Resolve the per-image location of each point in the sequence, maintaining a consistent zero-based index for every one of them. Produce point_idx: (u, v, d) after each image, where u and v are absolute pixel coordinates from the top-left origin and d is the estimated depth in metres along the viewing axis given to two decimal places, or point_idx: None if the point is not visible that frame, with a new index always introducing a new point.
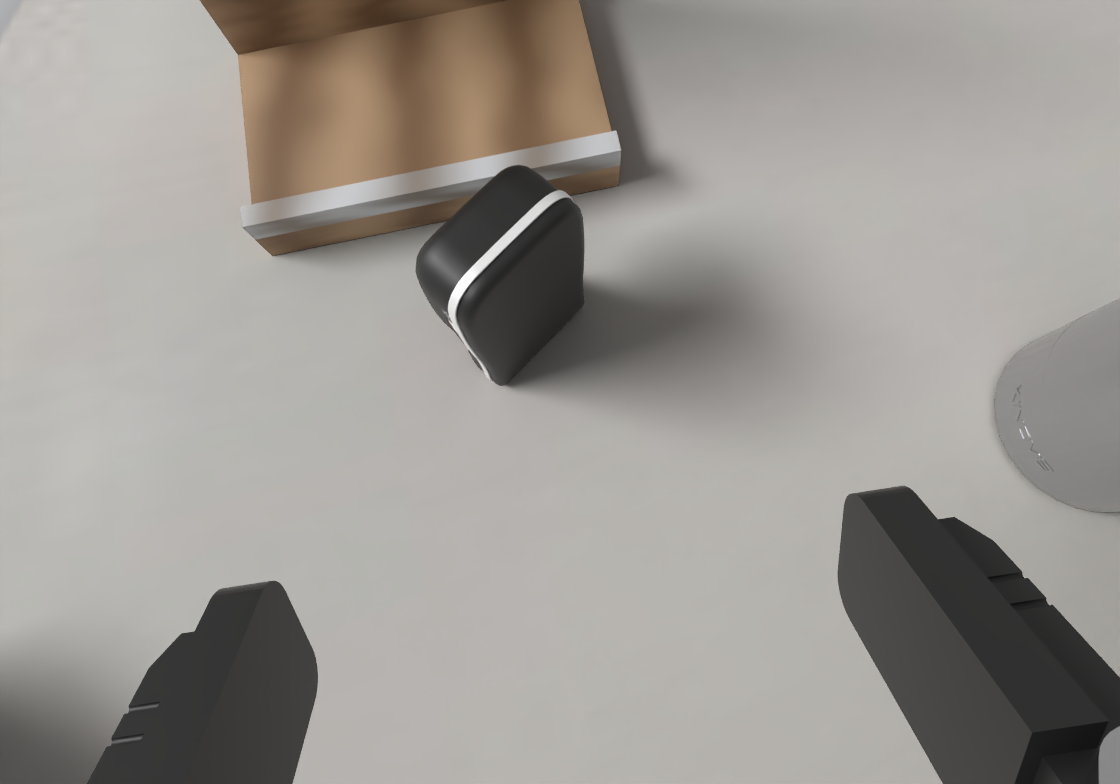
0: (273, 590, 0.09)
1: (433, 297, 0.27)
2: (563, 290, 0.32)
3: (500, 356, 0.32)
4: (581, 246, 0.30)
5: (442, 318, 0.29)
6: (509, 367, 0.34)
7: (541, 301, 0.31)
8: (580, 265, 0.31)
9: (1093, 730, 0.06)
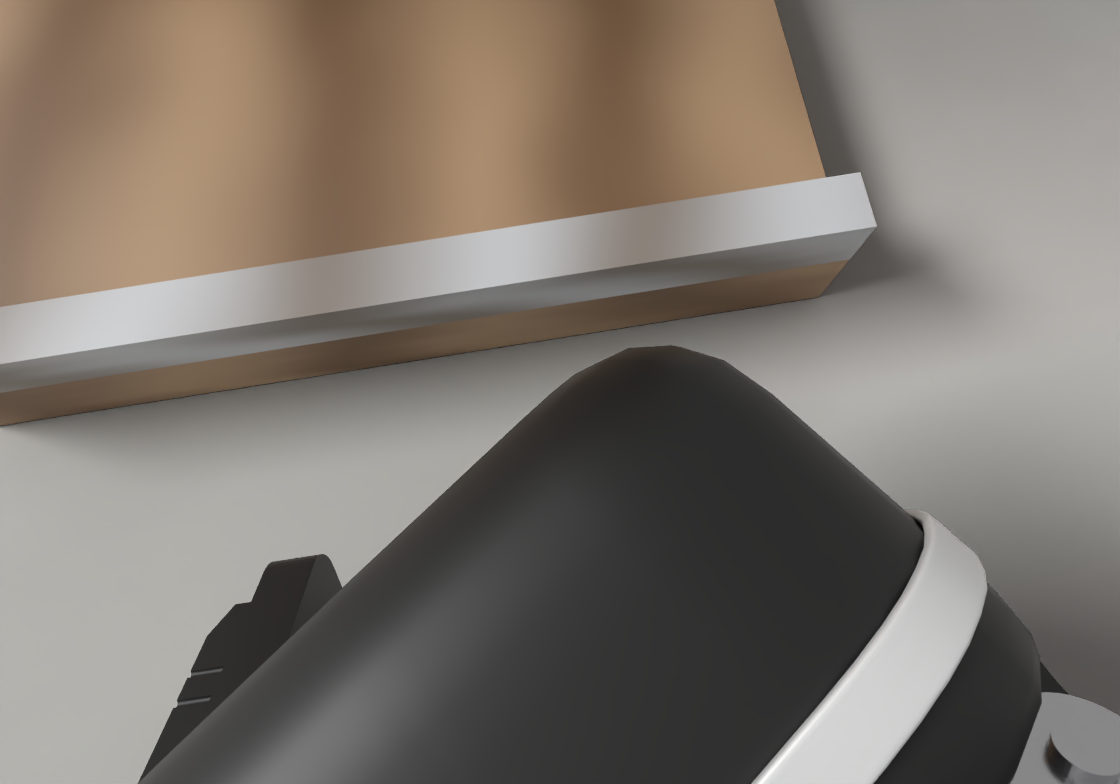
0: (323, 563, 0.09)
1: None
2: None
3: None
4: None
5: None
6: None
7: None
8: None
9: None
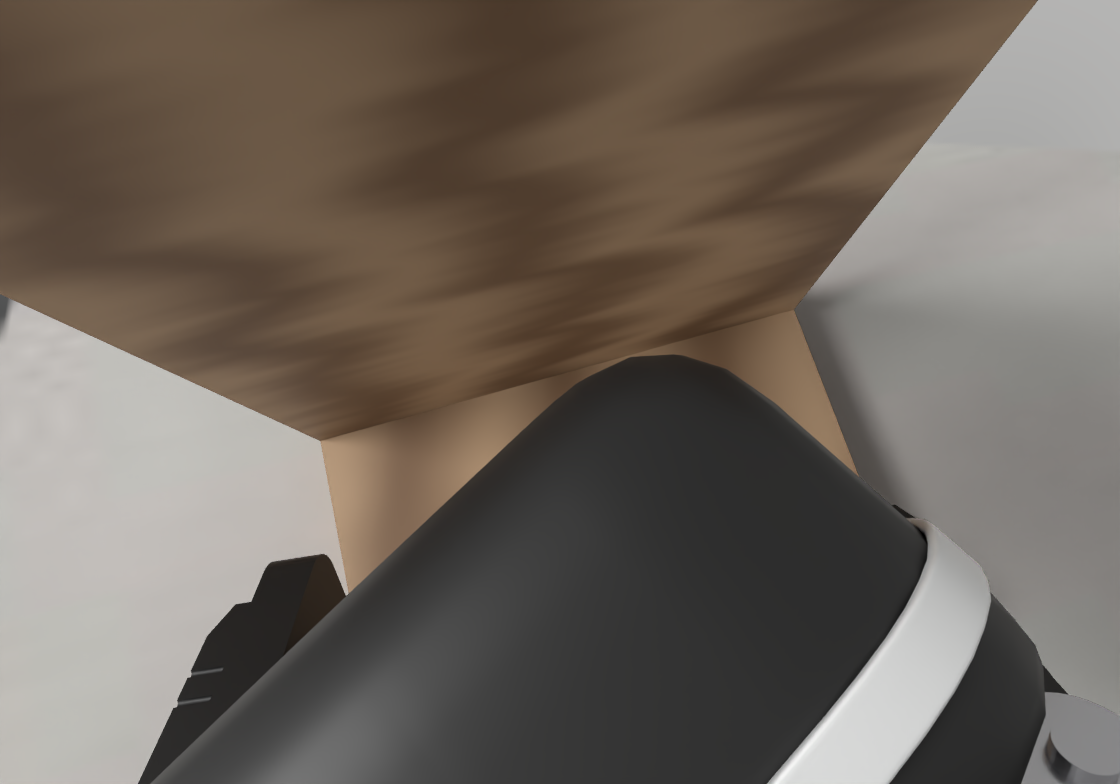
0: (323, 563, 0.09)
1: None
2: None
3: None
4: None
5: None
6: None
7: None
8: None
9: None
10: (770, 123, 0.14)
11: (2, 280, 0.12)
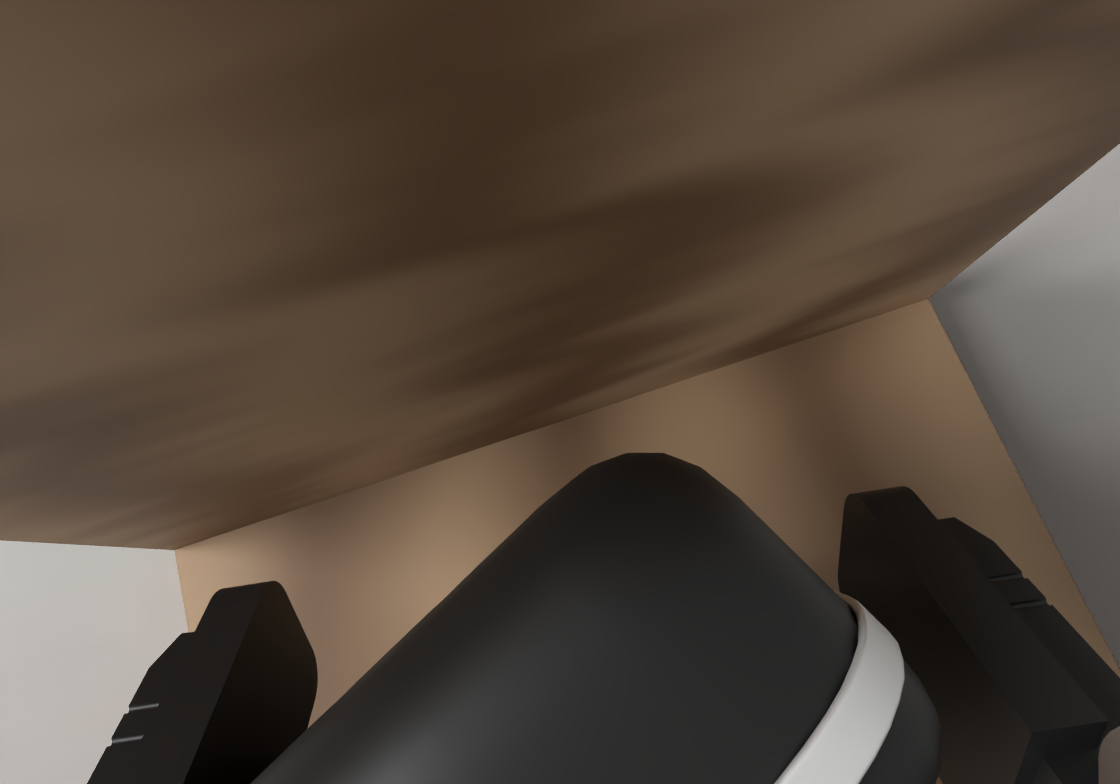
0: (273, 590, 0.09)
1: None
2: None
3: None
4: None
5: None
6: None
7: None
8: None
9: (1092, 730, 0.06)
10: None
11: None
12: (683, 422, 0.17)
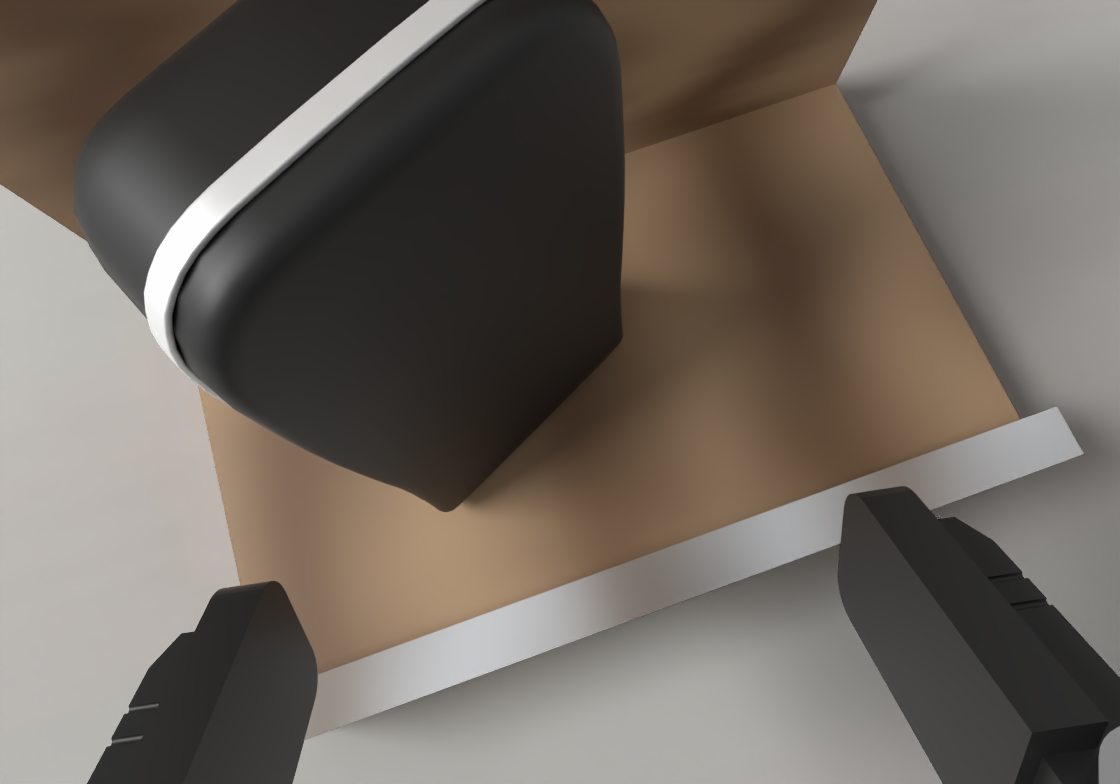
0: (273, 590, 0.09)
1: None
2: (574, 303, 0.13)
3: (419, 464, 0.13)
4: (617, 180, 0.11)
5: None
6: (455, 479, 0.15)
7: (516, 330, 0.12)
8: (615, 241, 0.13)
9: (1094, 731, 0.06)
10: None
11: None
12: None
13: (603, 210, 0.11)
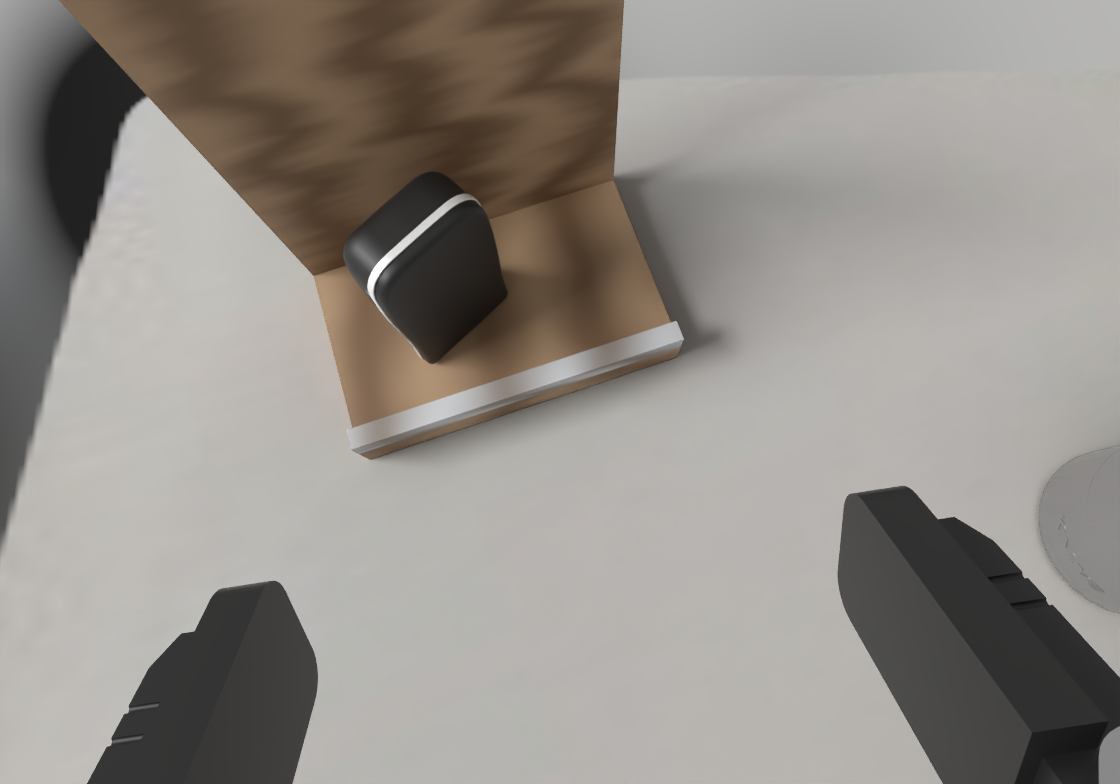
0: (273, 590, 0.09)
1: (357, 280, 0.32)
2: (480, 280, 0.37)
3: (424, 335, 0.37)
4: (491, 242, 0.35)
5: (370, 299, 0.34)
6: (436, 347, 0.39)
7: (459, 289, 0.36)
8: (494, 259, 0.36)
9: (1094, 731, 0.06)
10: (521, 32, 0.30)
11: (171, 109, 0.28)
12: (513, 227, 0.43)
13: (487, 251, 0.35)
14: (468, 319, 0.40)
